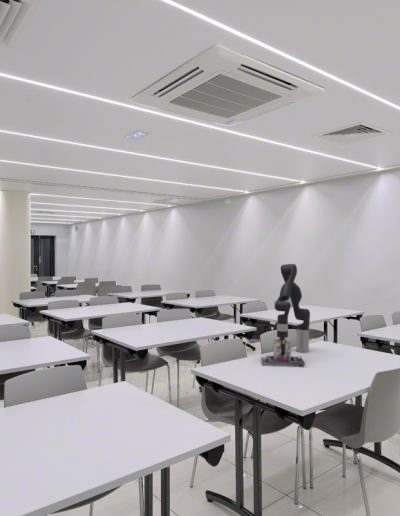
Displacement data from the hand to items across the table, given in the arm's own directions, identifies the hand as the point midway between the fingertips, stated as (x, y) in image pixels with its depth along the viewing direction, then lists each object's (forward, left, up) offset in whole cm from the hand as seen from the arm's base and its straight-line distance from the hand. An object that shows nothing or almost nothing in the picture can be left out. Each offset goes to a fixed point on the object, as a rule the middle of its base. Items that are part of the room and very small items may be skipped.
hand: (282, 353), depth 270 cm
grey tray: (0, 0, -6) cm, 6 cm away
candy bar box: (0, 0, -7) cm, 7 cm away
